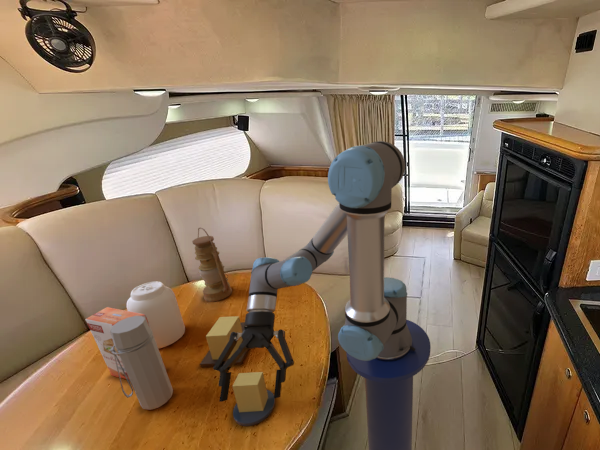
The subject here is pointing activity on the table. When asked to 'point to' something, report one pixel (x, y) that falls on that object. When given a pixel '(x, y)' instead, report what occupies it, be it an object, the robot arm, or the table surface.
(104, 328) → the cracker box
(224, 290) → the lantern
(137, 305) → the white jar
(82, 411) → the table surface
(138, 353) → the water bottle
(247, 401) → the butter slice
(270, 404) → the plate
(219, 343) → the butter block
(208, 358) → the butter board
